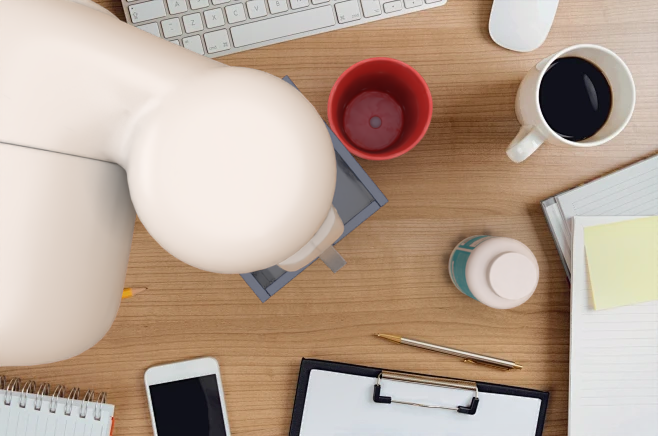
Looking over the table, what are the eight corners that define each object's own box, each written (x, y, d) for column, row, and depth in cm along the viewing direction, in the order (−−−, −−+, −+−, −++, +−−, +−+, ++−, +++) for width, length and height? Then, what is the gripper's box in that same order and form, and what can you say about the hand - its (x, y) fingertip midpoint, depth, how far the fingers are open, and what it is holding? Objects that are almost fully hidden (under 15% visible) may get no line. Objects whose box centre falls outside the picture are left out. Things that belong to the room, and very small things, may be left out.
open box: (176, 180, 52) (160, 177, 47) (290, 88, 52) (286, 74, 47) (269, 294, 52) (262, 303, 47) (383, 202, 52) (389, 201, 47)
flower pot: (425, 160, 72) (440, 152, 63) (333, 173, 72) (334, 166, 63) (413, 71, 72) (426, 49, 63) (321, 84, 72) (320, 64, 63)
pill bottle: (486, 309, 72) (522, 330, 59) (434, 274, 72) (459, 287, 59) (522, 257, 72) (566, 266, 59) (470, 221, 72) (503, 223, 59)
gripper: (110, 107, 33) (189, 146, 51) (307, 351, 33) (315, 302, 51) (220, 19, 33) (259, 89, 51) (416, 263, 33) (385, 246, 51)
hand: (287, 196), depth 51 cm, fingers closed on sponge, 4 cm apart
